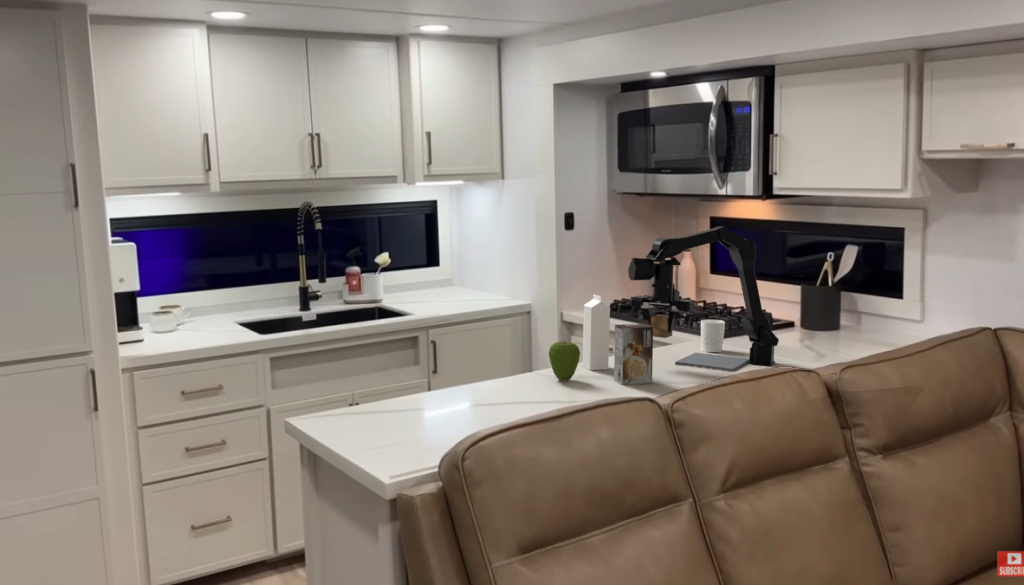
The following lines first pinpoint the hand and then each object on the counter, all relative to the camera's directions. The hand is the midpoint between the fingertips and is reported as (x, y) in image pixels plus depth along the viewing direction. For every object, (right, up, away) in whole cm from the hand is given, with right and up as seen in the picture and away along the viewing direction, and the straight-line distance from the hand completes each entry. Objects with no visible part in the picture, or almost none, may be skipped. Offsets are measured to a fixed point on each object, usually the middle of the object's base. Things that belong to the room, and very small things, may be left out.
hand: (661, 331), depth 263 cm
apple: (-30, -13, -17) cm, 37 cm away
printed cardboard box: (-11, -13, -19) cm, 26 cm away
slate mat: (+18, -10, +9) cm, 22 cm away
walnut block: (0, -1, 0) cm, 1 cm away
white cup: (+22, -8, +29) cm, 37 cm away
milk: (-20, -11, 0) cm, 23 cm away
